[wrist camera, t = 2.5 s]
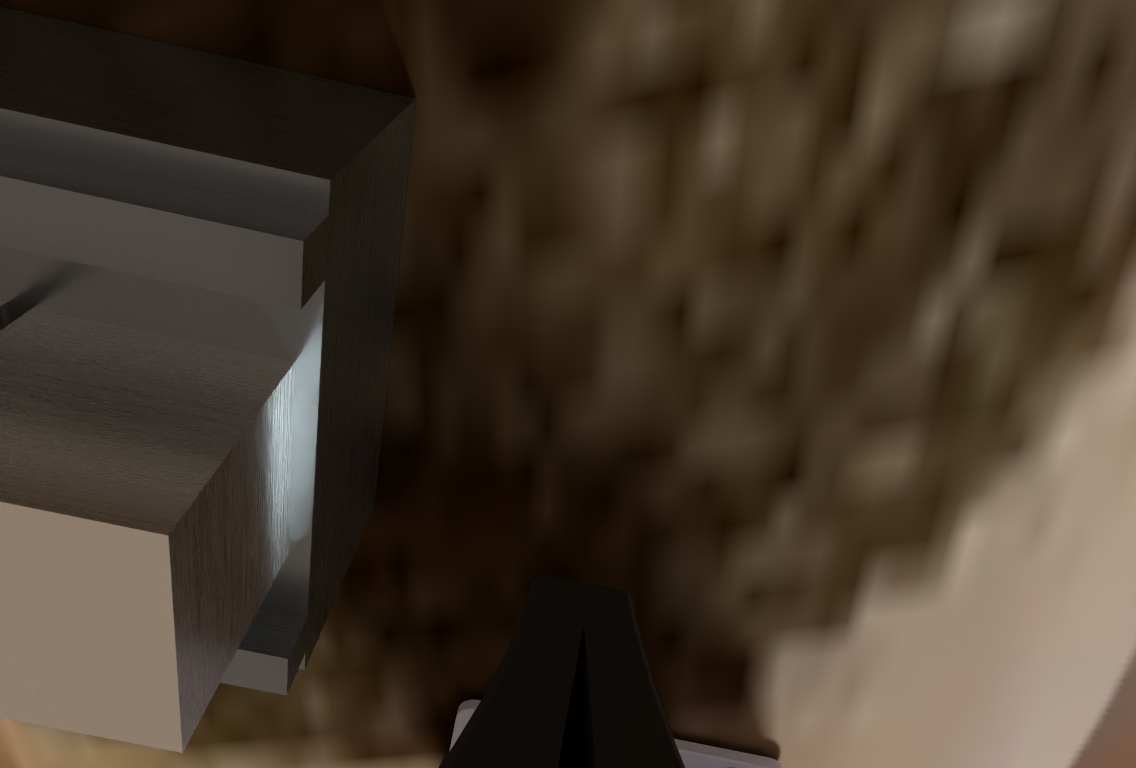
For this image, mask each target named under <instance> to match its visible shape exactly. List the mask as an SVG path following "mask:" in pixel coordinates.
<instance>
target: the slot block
mask: <svg viewBox="0 0 1136 768" xmlns="http://www.w3.org/2000/svg"><path fill="white" fill-rule="evenodd" d="M415 106H416V99H415V98H411V97H406V96H402V95H397V94H393V93H388V92H384V91H379V90H375V89H370V88H366V87H361V86H357V85H353V84H348V83H344V82H339V81H335V80H330V79H326V78H321V77H317V76H312V75H308V74H303V73H299V72H294V71H290V70H285V69H281V68H276V67H272V66H267V65H263V64H258V63H254V62H249V61H245V60H240V59H236V58H231V57H227V56H222V55H218V54H213V53H209V52H204V51H200V50H195V49H191V48H186V47H182V46H177V45H173V44H168V43H164V42H159V41H155V40H150V39H146V38H141V37H137V36H132V35H128V34H123V33H119V32H114V31H110V30H105V29H101V28H96V27H92V26H87V25H83V24H78V23H74V22H69V21H65V20H60V19H56V18H51V17H47V16H42V15H38V14H33V13H29V12H24V11H20V10H15V9H11V8H6V7H2V6H0V301H5V302H7V304H8V310H9V316H10V322H11V323H12V322H13V321H15V320H16V319H18V318H19V317H21V316H22V315H23V314H25V313H26V312H28V311H29V310H31V309H32V308H38V309H43V310H48V311H53V312H57V313H62V314H67V315H72V316H76V317H81V318H86V319H91V320H95V321H100V322H105V323H110V324H114V325H119V326H124V327H129V328H133V329H138V330H143V331H148V332H152V333H157V334H162V335H167V336H171V337H176V338H181V339H186V340H190V341H195V342H200V343H205V344H209V345H214V346H219V347H224V348H229V349H233V350H238V351H243V352H248V353H252V354H257V355H262V356H267V357H271V358H276V359H281V360H286V361H290V362H295V367H294V397H293V427H292V456H291V486H290V515H289V545H288V555H287V557H286V559H285V561H284V562H283V564H282V566H281V568H280V570H279V572H278V574H277V576H276V578H275V579H274V581H273V583H272V585H271V587H270V589H269V591H268V593H267V595H266V596H265V598H264V600H263V602H262V604H261V606H260V608H259V610H258V611H257V613H256V615H255V617H254V619H253V621H252V623H251V625H250V627H249V628H248V630H247V632H246V634H245V636H244V638H243V640H242V642H241V644H240V645H239V647H238V649H237V651H236V653H235V655H234V657H233V659H232V660H231V662H230V664H229V666H228V668H227V670H226V672H225V674H224V676H223V677H222V679H221V681H220V682H221V683H226V684H231V685H236V686H241V687H246V688H251V689H256V690H261V691H266V692H271V693H276V694H282V695H287V694H288V691H289V689H290V687H291V685H292V682H293V680H294V678H295V675H296V673H297V671H298V669H303V670H305V668H306V665H307V663H308V661H309V658H310V656H311V654H312V652H313V649H314V647H315V645H316V642H317V640H318V638H319V635H320V633H321V631H322V628H323V626H324V624H325V621H326V619H327V617H328V614H329V612H330V610H331V608H332V605H333V603H334V601H335V598H336V596H337V594H338V591H339V589H340V587H341V584H342V582H343V580H344V577H345V575H346V573H347V570H348V568H349V566H350V564H351V561H352V559H353V557H354V554H355V552H356V550H357V547H358V545H359V543H360V540H361V538H362V536H363V533H364V531H365V529H366V526H367V524H368V522H369V519H370V517H371V515H372V513H373V510H374V508H375V498H376V489H377V479H378V469H379V459H380V449H381V440H382V430H383V420H384V410H385V400H386V390H387V381H388V371H389V361H390V351H391V341H392V331H393V322H394V312H395V302H396V292H397V282H398V273H399V263H400V253H401V243H402V233H403V223H404V214H405V204H406V194H407V184H408V174H409V164H410V155H411V145H412V135H413V125H414V115H415Z"/></svg>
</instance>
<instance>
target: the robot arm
mask: <svg viewBox="0 0 1136 768" xmlns="http://www.w3.org/2000/svg"><path fill="white" fill-rule="evenodd" d="M439 768H782V766H781V763H779V762H778V761H777V760H775V759H772V758H769V757H764V756H759V755H754V754H749V753H744V752H739V751H734V750H729V749H724V748H719V747H714V746H709V745H704V744H699V743H694V742H688V741H683V740H678V739H674V738H673V735H672V732H671V729H670V726H669V724H668V721H667V718H666V715H665V712H664V710H663V707H662V704H661V701H660V699H659V696H658V693H657V689H656V686H655V683H654V680H653V677H652V674H651V670H650V667H649V664H648V660H647V657H646V654H645V650H644V647H643V643H642V639H641V635H640V631H639V627H638V623H637V619H636V614H635V610H634V604H633V599H632V598H631V596H630V595H629V593H628V592H627V591H623V590H618V589H613V588H608V587H603V586H599V585H594V584H589V583H584V582H579V581H574V580H569V579H564V578H559V577H554V576H549V575H544V574H541V575H539V576H537V577H534V578H533V579H532V583H531V587H530V591H529V595H528V599H527V603H526V607H525V610H524V613H523V616H522V618H521V621H520V623H519V626H518V628H517V630H516V633H515V635H514V637H513V639H512V642H511V644H510V646H509V648H508V650H507V652H506V654H505V656H504V658H503V660H502V662H501V664H500V666H499V668H498V670H497V672H496V674H495V675H494V677H493V679H492V681H491V683H490V685H489V687H488V689H487V691H486V693H485V694H484V696H483V698H482V700H473V699H472V700H467V701H464V702H463V703H461V704H460V706H459V708H458V712H457V716H456V721H455V726H454V731H453V736H452V741H451V746H450V751H449V753H448V754H447V756H446V757H445V759H444V760H443V762H442V763H441V765H440V766H439Z"/></svg>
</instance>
